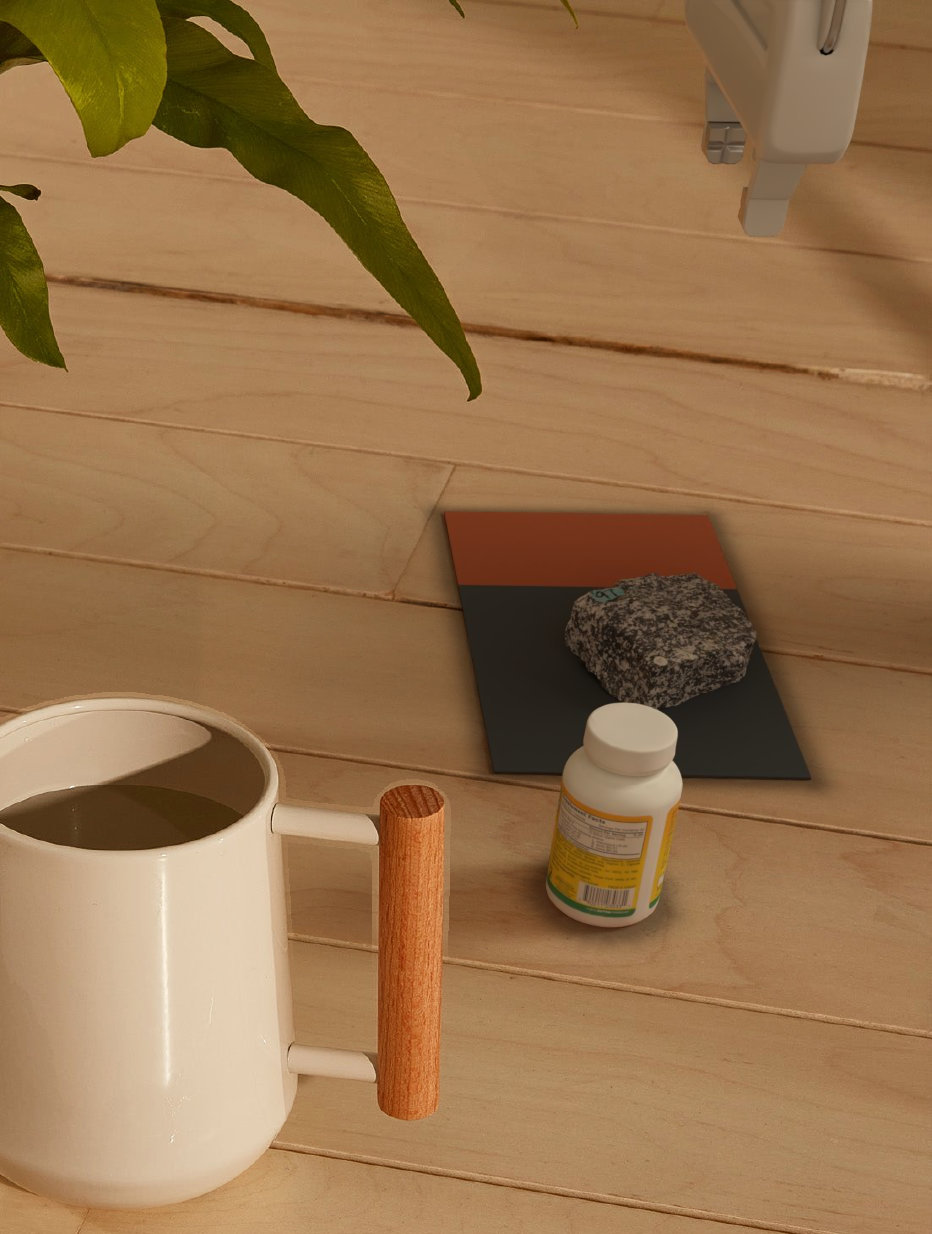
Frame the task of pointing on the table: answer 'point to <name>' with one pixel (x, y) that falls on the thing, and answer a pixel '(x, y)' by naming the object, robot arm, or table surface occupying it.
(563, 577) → the mat
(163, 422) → the table surface
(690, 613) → the rock
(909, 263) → the table surface
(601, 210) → the table surface
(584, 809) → the supplement bottle
